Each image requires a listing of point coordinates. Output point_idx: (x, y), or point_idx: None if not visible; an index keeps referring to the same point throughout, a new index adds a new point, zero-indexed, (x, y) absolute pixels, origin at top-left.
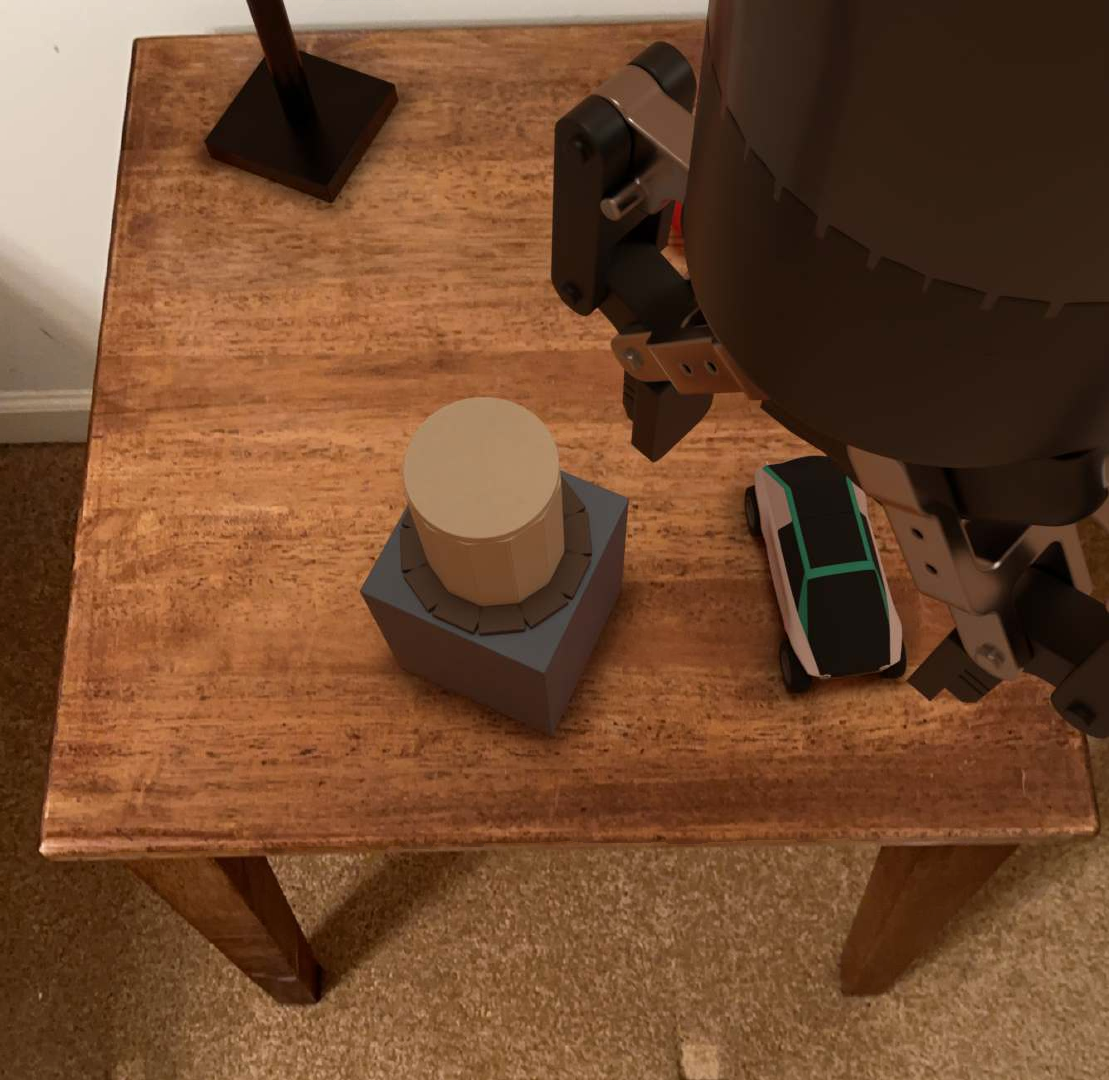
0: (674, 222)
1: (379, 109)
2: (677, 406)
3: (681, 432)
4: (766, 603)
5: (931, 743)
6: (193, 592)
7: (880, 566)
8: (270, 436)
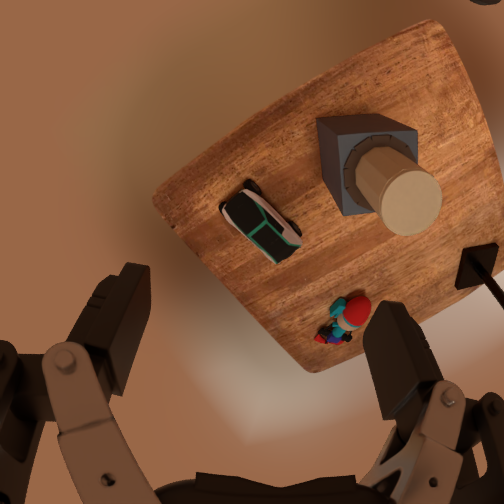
0: (366, 299)
1: (459, 281)
2: (393, 357)
3: (375, 325)
4: (273, 201)
5: (198, 191)
6: (449, 107)
7: (245, 236)
8: (453, 168)
